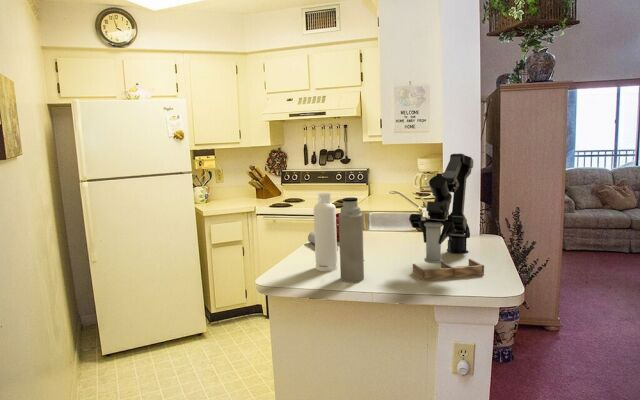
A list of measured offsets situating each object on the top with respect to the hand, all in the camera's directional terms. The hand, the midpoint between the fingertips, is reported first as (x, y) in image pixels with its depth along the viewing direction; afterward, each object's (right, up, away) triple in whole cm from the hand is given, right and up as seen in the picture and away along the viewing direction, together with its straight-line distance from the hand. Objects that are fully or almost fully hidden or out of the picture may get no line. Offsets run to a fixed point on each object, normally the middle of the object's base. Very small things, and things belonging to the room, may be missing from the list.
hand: (432, 243), depth 150 cm
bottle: (-35, -11, +16) cm, 40 cm away
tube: (-36, -7, +46) cm, 59 cm away
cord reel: (+1, -6, +2) cm, 7 cm away
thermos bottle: (-27, -13, +2) cm, 30 cm away
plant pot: (-26, -4, +60) cm, 66 cm away
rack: (+6, -11, +4) cm, 13 cm away
